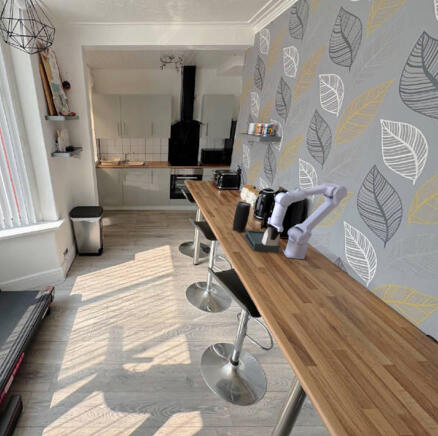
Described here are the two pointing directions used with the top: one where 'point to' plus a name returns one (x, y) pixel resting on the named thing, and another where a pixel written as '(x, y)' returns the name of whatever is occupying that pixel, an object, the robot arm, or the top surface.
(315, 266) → the top surface
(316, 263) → the top surface
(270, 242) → the light grey block
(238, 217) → the portable speaker
